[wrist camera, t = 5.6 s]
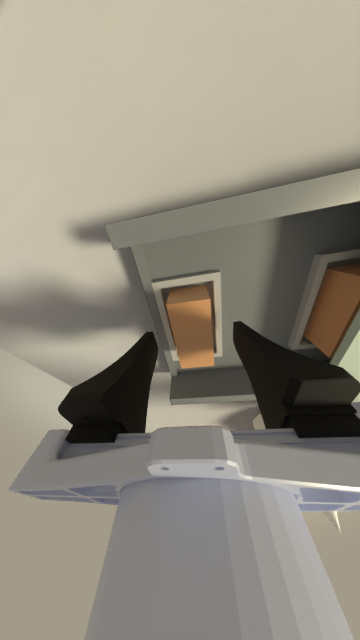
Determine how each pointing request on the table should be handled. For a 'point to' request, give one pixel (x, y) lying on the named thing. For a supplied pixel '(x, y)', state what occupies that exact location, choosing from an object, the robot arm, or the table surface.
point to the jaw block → (192, 325)
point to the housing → (254, 274)
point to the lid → (350, 351)
